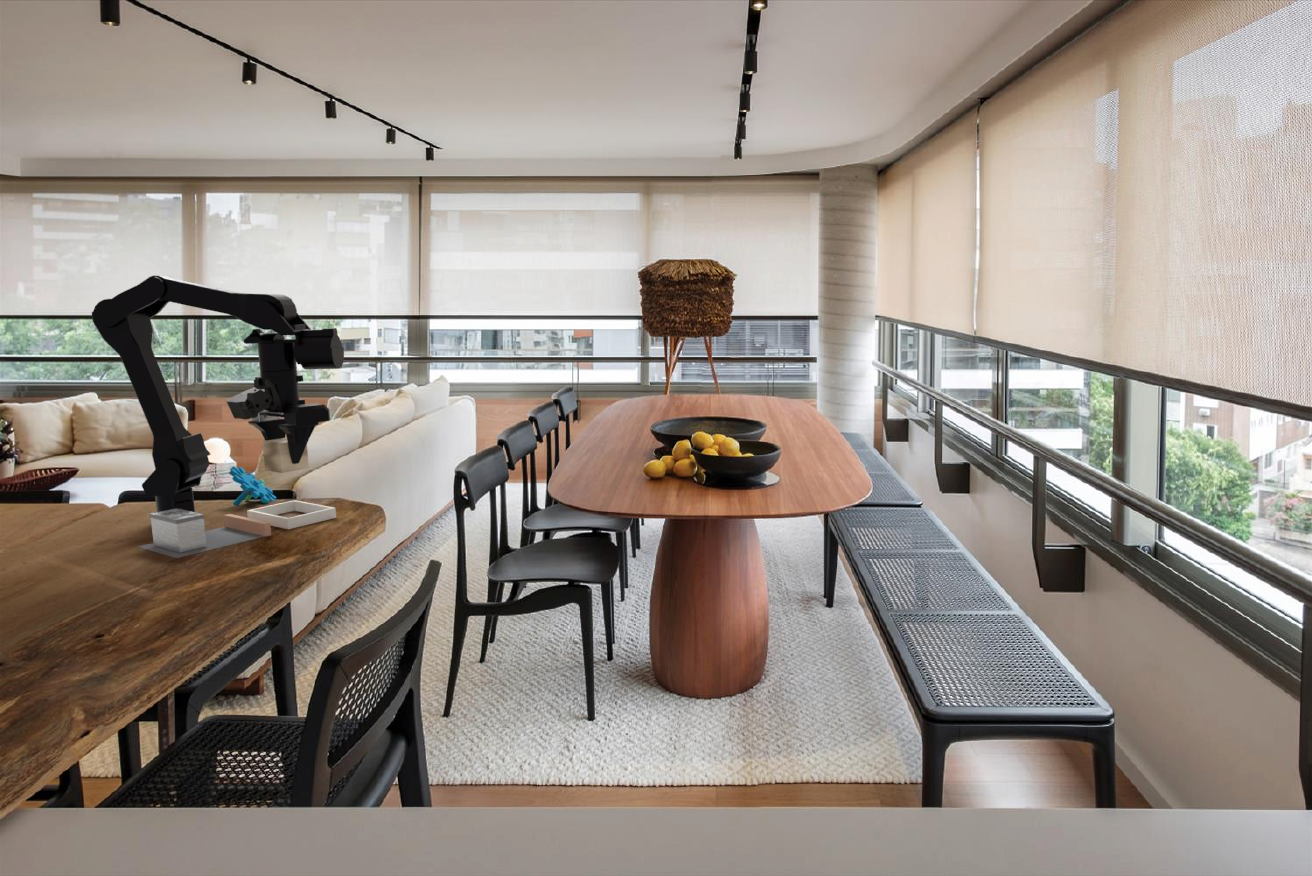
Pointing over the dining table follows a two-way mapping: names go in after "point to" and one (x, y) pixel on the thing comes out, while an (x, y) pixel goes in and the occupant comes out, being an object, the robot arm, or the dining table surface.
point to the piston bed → (223, 535)
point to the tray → (313, 516)
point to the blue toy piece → (250, 487)
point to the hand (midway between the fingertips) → (286, 462)
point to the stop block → (281, 457)
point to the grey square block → (178, 530)
